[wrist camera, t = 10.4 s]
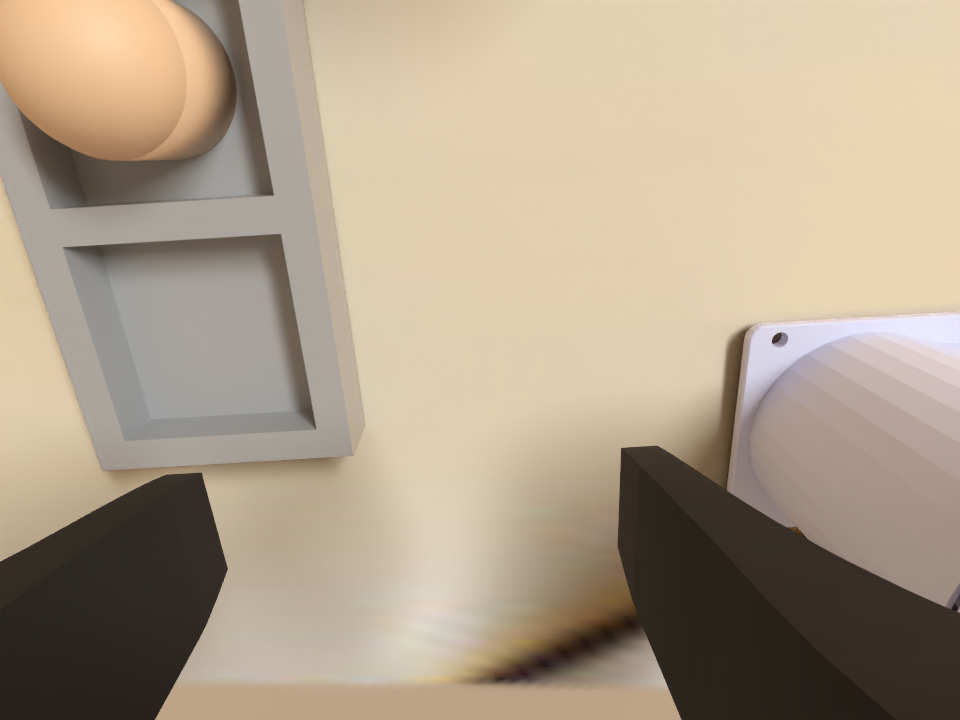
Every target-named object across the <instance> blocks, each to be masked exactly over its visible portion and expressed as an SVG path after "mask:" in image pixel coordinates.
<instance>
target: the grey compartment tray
mask: <svg viewBox="0 0 960 720" xmlns="http://www.w3.org/2000/svg"><path fill="white" fill-rule="evenodd" d="M172 1H174V2H176V3H178V4H180V5H182V6H184V7H185V8H187V9H189V10H190V11H192V12H193V13H195V14H196V15H197V16H198V17H200V18H201V19H202V20H203V21H204V22H205V23H206V24H207V25H208V26H209V27H210V28H211V29H212V30H213V32H214V33H215V34H216V35H217V37H218V38H219V40H220V41H221V43H222V44H223V46H224V48H225V50H226V52H227V54H228V56H229V59H230V61H231V64H232V67H233V70H234V74H235V79H236V87H237V102H236V110H235V114H234V118H233V120H232V123H231V125H230V128H229V129H228V131H227V133H226V135H225V136H224V137H223V138H222V140H221V141H220V142H219V143H218V144H217V145H216V146H215V147H214V148H212V149H211V150H209V151H208V152H206V153H204V154H202V155H200V156H197V157H194V158H191V159H184V160H140V161H110V160H103V159H98V158H94V157H91V156H87V155H85V154H82V153H80V152H77V151H75V150H74V149H72V148H70V147H68V146H66V145H64V144H62V143H60V142H59V141H57V140H55V139H53V138H52V137H50V136H49V135H48V134H46V133H45V132H43V131H42V130H41V129H40V128H39V127H37V126H36V125H35V124H34V123H33V122H32V121H30V120H29V119H28V118H27V117H26V116H25V115H24V114H23V113H22V111H21V110H20V109H19V108H18V107H17V105H16V104H15V103H14V102H13V100H12V99H11V97H10V96H9V94H8V93H7V91H6V90H5V88H4V86H3V84H2V83H1V81H0V176H1V179H2V181H3V184H4V187H5V190H6V193H7V196H8V199H9V202H10V205H11V208H12V210H13V213H14V216H15V219H16V222H17V225H18V228H19V231H20V234H21V237H22V239H23V242H24V245H25V248H26V251H27V254H28V257H29V260H30V263H31V265H32V268H33V271H34V274H35V277H36V280H37V283H38V286H39V289H40V292H41V294H42V297H43V300H44V303H45V306H46V309H47V312H48V315H49V318H50V321H51V323H52V326H53V329H54V332H55V335H56V338H57V341H58V344H59V347H60V350H61V352H62V355H63V358H64V361H65V364H66V367H67V370H68V373H69V376H70V379H71V381H72V384H73V387H74V390H75V393H76V396H77V399H78V402H79V405H80V407H81V410H82V413H83V416H84V419H85V422H86V425H87V428H88V431H89V434H90V436H91V439H92V442H93V445H94V448H95V451H96V454H97V457H98V460H99V463H100V465H101V468H102V471H108V470H125V469H141V468H158V467H175V466H192V465H209V464H226V463H243V462H260V461H277V460H293V459H310V458H327V457H344V456H353V455H354V452H355V450H356V447H357V445H358V442H359V440H360V437H361V434H362V432H363V429H364V427H365V422H364V415H363V408H362V401H361V395H360V388H359V381H358V374H357V367H356V361H355V354H354V347H353V340H352V333H351V326H350V320H349V313H348V306H347V299H346V292H345V286H344V279H343V272H342V265H341V258H340V251H339V245H338V238H337V231H336V224H335V217H334V211H333V204H332V197H331V190H330V183H329V177H328V170H327V163H326V156H325V149H324V142H323V136H322V129H321V122H320V115H319V108H318V102H317V95H316V88H315V81H314V74H313V67H312V61H311V54H310V47H309V40H308V33H307V27H306V20H305V13H304V6H303V0H172Z"/></svg>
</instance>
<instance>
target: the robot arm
mask: <svg viewBox="0 0 960 720" xmlns="http://www.w3.org/2000/svg"><path fill="white" fill-rule="evenodd" d="M780 332H781V334H782V336H781V339H780V340H779V341H778V342H777V343H774V344H772V339H773V336H774V335H776V334H777V333H780ZM787 527H798V529H799V530H800V531H801V532H802V533H803V534H804V535H805V537H806V538H807V539H806V538H804V537H803V536H801V535H799V534H797V533H796V532H794V531H792V530H790V529H789V528H787ZM618 549H619V553H620V557H621V561H622V564H623V568H624V572H625V576H626V579H627V583H628V586H629V590H630V593H631V597H632V600H633V603H634V605H635V608H636V610H637V613H638V615H639V618H640V620H641V623H642V625H643V628H644V630H645V633H646V635H647V637H648V640H649V642H650V645H651V647H652V650H653V652H654V654H655V657H656V659H657V662H658V664H659V666H660V669H661V671H662V674H663V676H664V679H665V681H666V683H667V686H668V688H669V691H670V693H671V695H672V698H673V700H674V703H675V705H676V707H677V710H678V712H679V715H680V717H681V719H682V720H960V311H954V312H937V313H920V314H904V315H887V316H871V317H854V318H837V319H821V320H804V321H788V322H771V323H759V324H755V325H754V326H752V327H751V328H749V330H748V331H747V332H746V335H745V338H744V345H743V354H742V362H741V371H740V379H739V388H738V397H737V405H736V414H735V422H734V431H733V439H732V448H731V457H730V465H729V474H728V482H727V490H725V489H724V488H722V487H721V486H719V485H717V484H716V483H714V482H713V481H711V480H710V479H708V478H707V477H705V476H704V475H702V474H701V473H699V472H698V471H696V470H695V469H693V468H692V467H690V466H689V465H687V464H686V463H684V462H683V461H681V460H680V459H678V458H677V457H675V456H674V455H672V454H670V453H669V452H667V451H665V450H664V449H662V448H660V447H658V446H646V447H629V448H621V471H620V499H619V526H618ZM227 570H228V568H227V565H226V561H225V557H224V554H223V550H222V546H221V543H220V539H219V535H218V532H217V528H216V524H215V521H214V517H213V513H212V510H211V506H210V502H209V499H208V495H207V491H206V488H205V484H204V480H203V477H202V473H189V474H172V475H165V476H162V477H160V478H158V479H155V480H153V481H151V482H149V483H146V484H144V485H142V486H140V487H138V488H136V489H134V490H132V491H130V492H128V493H127V494H125V495H123V496H121V497H119V498H117V499H115V500H113V501H111V502H110V503H108V504H106V505H104V506H102V507H100V508H99V509H97V510H95V511H93V512H91V513H90V514H88V515H86V516H84V517H82V518H80V519H79V520H77V521H75V522H73V523H71V524H70V525H68V526H66V527H64V528H62V529H60V530H59V531H57V532H55V533H53V534H51V535H50V536H48V537H46V538H44V539H42V540H40V541H39V542H37V543H35V544H33V545H31V546H29V547H28V548H26V549H24V550H22V551H20V552H18V553H16V554H14V555H12V556H10V557H8V558H7V559H5V560H3V561H1V562H0V720H155V718H156V717H157V715H158V713H159V711H160V709H161V707H162V706H163V704H164V702H165V700H166V698H167V697H168V695H169V693H170V691H171V689H172V688H173V686H174V684H175V682H176V680H177V679H178V677H179V675H180V673H181V671H182V669H183V668H184V666H185V664H186V662H187V660H188V658H189V656H190V655H191V653H192V651H193V649H194V647H195V645H196V643H197V642H198V640H199V638H200V636H201V634H202V632H203V630H204V628H205V626H206V624H207V622H208V619H209V617H210V614H211V612H212V609H213V607H214V605H215V602H216V600H217V597H218V594H219V592H220V589H221V586H222V583H223V581H224V578H225V575H226V572H227Z"/></svg>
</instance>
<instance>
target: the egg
mask: <svg viewBox="0 0 960 720" xmlns="http://www.w3.org/2000/svg"><path fill="white" fill-rule="evenodd" d="M0 81H1V83H2V84H3V86H4V88H5V90H6V91H7V93H8V94H9V96H10V97H11V99H12V100H13V102H14V103H15V104H16V105H17V107H18V108H19V109H20V110H21V111H22V113H23V114H24V115H25V116H26V117H27V118H28V119H29V120H30V121H32V122H33V123H34V124H35V125H36V126H37V127H39V128H40V129H41V130H42V131H43V132H45V133H46V134H48V135H49V136H50V137H52V138H53V139H55V140H57V141H59V142H60V143H62V144H64V145H66V146H68V147H70V148H72V149H74V150H75V151H77V152H80V153H82V154H85V155H87V156H91V157H94V158H98V159H103V160H110V161H140V160H184V159H191V158H194V157H197V156H200V155H202V154H204V153H206V152H208V151H209V150H211V149H212V148H214V147H215V146H216V145H217V144H218V143H219V142H220V141H221V140H222V138H223V137H224V136H225V135H226V133H227V131H228V129H229V128H230V125H231V123H232V120H233V118H234V114H235V110H236V102H237V87H236V79H235V74H234V70H233V67H232V64H231V61H230V59H229V56H228V54H227V52H226V50H225V48H224V46H223V44H222V43H221V41H220V40H219V38H218V37H217V35H216V34H215V33H214V32H213V30H212V29H211V28H210V27H209V26H208V25H207V24H206V23H205V22H204V21H203V20H202V19H201V18H200V17H198V16H197V15H196V14H195V13H193V12H192V11H190V10H189V9H187V8H185V7H184V6H182V5H180V4H178V3H176V2H174V1H172V0H0Z"/></svg>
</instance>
